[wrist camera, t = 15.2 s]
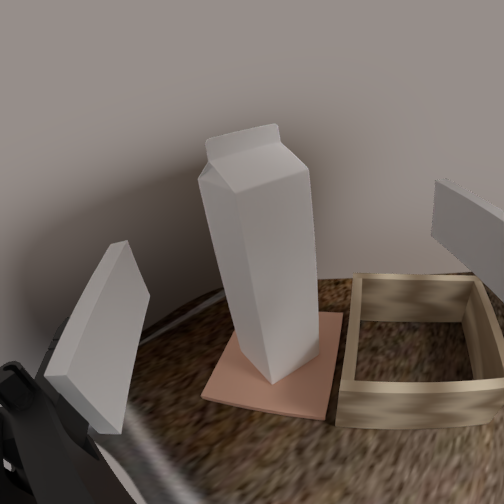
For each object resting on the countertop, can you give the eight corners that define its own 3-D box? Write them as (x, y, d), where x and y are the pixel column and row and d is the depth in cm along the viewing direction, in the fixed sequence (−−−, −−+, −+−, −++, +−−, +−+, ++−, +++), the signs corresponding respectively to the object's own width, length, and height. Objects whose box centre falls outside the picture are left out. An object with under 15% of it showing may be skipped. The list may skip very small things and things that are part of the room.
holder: (466, 316, 29) (478, 275, 26) (488, 423, 17) (517, 385, 14) (351, 314, 34) (353, 272, 32) (334, 426, 22) (339, 390, 20)
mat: (342, 316, 34) (343, 312, 34) (324, 420, 23) (324, 417, 23) (247, 309, 39) (246, 305, 38) (202, 398, 27) (200, 395, 27)
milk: (319, 354, 29) (307, 123, 19) (271, 386, 27) (226, 140, 16) (284, 325, 34) (256, 122, 23) (239, 351, 32) (188, 138, 21)
